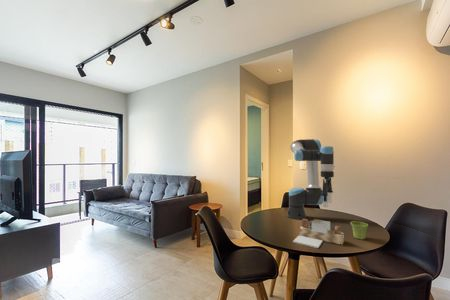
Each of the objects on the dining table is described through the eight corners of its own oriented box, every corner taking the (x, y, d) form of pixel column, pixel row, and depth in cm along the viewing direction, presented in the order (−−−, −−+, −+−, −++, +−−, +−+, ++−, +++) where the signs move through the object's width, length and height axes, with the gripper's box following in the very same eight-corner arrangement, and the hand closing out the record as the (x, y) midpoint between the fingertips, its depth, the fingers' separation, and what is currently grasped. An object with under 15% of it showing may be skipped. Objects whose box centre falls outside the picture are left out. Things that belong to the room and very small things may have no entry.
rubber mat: (292, 242, 129) (292, 241, 129) (298, 236, 138) (298, 235, 138) (318, 248, 120) (318, 247, 120) (322, 241, 129) (322, 240, 129)
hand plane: (299, 235, 139) (299, 219, 139) (302, 232, 144) (302, 217, 144) (342, 244, 125) (342, 227, 125) (343, 241, 130) (343, 224, 130)
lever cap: (311, 230, 134) (311, 221, 134) (314, 227, 140) (314, 217, 141) (327, 233, 129) (327, 223, 129) (330, 229, 135) (330, 220, 135)
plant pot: (347, 235, 140) (347, 221, 140) (361, 234, 141) (361, 221, 141) (357, 241, 130) (357, 226, 131) (372, 240, 131) (372, 225, 131)
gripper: (330, 172, 126) (330, 209, 125) (336, 169, 146) (337, 201, 146) (316, 171, 130) (316, 207, 129) (324, 169, 151) (324, 200, 150)
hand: (327, 204), depth 138 cm, fingers open, 13 cm apart
